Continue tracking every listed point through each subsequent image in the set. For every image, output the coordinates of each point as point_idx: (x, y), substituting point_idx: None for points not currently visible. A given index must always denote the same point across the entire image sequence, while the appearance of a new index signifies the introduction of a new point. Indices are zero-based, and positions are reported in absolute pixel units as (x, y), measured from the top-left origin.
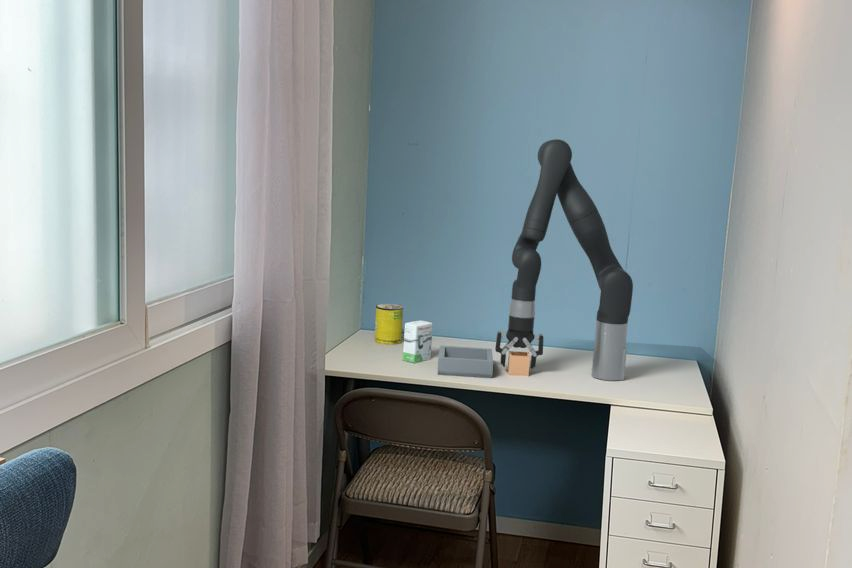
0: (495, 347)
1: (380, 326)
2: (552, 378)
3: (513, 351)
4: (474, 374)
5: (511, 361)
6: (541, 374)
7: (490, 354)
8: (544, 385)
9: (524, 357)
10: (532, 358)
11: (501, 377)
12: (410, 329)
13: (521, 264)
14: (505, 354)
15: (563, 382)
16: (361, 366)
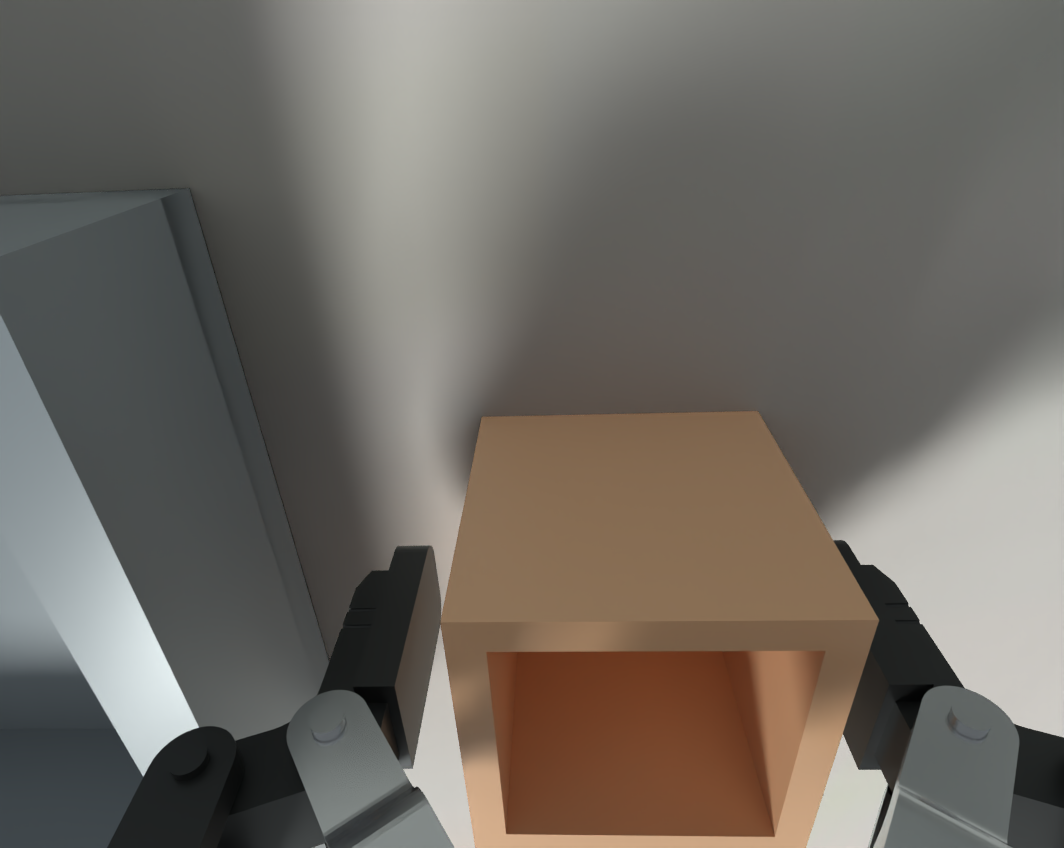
0: (145, 789)
1: None
2: (996, 626)
3: (540, 635)
4: None
5: (515, 761)
6: (918, 513)
7: (147, 689)
8: (820, 804)
9: (711, 838)
10: (859, 744)
11: (434, 693)
12: None
13: None
14: (399, 742)
15: (1057, 715)
16: None
